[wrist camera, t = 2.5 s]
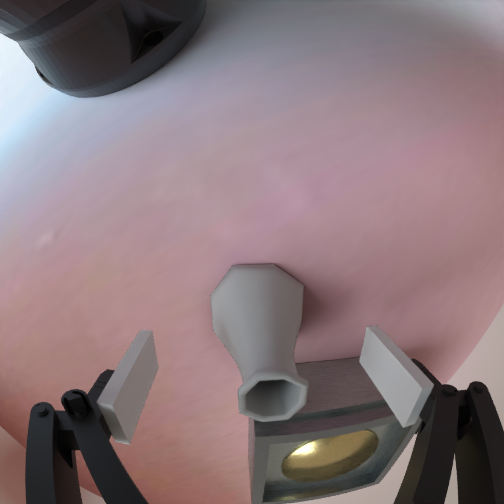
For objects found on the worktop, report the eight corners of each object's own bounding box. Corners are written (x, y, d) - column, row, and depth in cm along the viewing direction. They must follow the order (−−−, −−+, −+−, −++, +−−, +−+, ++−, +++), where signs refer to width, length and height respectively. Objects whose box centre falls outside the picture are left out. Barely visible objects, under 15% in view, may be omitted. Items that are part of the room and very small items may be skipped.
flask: (318, 275, 20) (379, 348, 10) (284, 354, 21) (311, 448, 12) (223, 248, 19) (211, 312, 9) (199, 334, 21) (179, 430, 11)
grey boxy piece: (249, 365, 21) (255, 432, 14) (394, 350, 22) (434, 397, 15) (248, 456, 25) (251, 507, 18) (359, 442, 26) (377, 485, 18)
